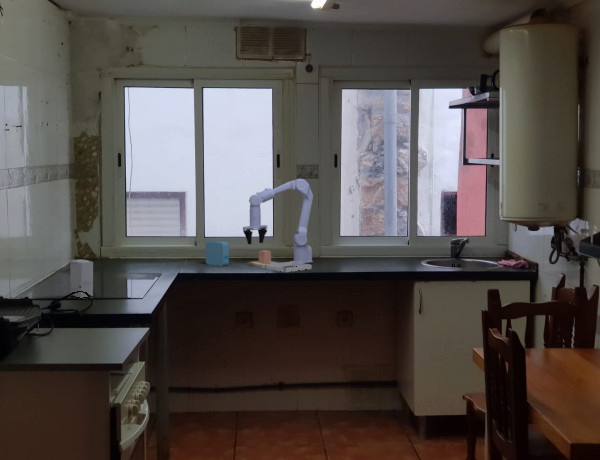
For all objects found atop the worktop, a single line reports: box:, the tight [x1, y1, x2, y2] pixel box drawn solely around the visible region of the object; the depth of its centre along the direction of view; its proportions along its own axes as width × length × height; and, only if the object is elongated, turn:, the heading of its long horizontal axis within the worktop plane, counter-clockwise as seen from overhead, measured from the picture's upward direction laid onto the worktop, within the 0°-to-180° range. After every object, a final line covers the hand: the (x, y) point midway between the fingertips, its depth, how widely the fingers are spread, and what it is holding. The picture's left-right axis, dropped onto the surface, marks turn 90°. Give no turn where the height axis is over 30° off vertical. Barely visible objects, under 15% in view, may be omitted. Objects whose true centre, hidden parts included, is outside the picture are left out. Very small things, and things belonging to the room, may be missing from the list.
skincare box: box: [69, 259, 94, 299], centre depth 311 cm, size 8×6×15 cm
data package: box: [205, 240, 230, 267], centre depth 400 cm, size 12×4×12 cm, turn 56°
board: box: [247, 260, 281, 269], centre depth 398 cm, size 12×12×2 cm
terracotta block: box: [258, 249, 272, 263], centre depth 397 cm, size 4×4×6 cm
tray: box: [264, 261, 313, 273], centre depth 386 cm, size 18×16×2 cm
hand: (255, 243), depth 404 cm, fingers open, 7 cm apart
